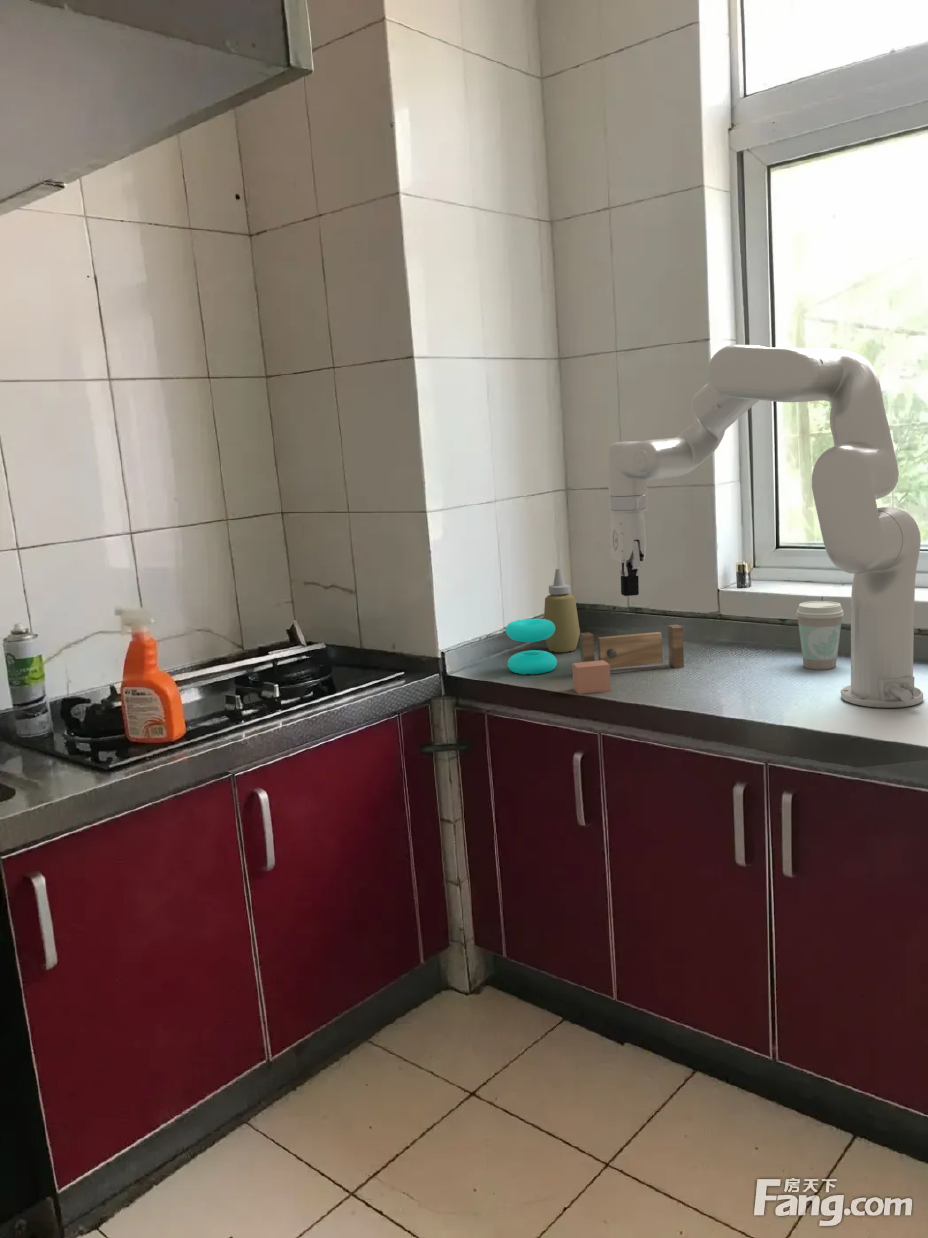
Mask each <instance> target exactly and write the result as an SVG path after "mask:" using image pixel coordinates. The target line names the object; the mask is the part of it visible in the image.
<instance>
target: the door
mask: <svg viewBox="0 0 928 1238" xmlns="http://www.w3.org/2000/svg"><path fill="white" fill-rule="evenodd" d="M662 634H663V633H662V632H660V631H656V632H654V631H653V632H644V633H643V632H642V633H635V634H633V633H632V634H630V633H629V634H623V635H622V634H620V635H619V634H618V635H610V636H609V635H608V636H599V637H598V636H597V655H598V661H601V660H604V661H605V662H607V663H608V664H609V665H610V669H618V668H628V667H639V666H646V665H647V666H649V665H660V664H663V635H662Z"/></svg>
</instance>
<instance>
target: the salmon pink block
mask: <svg viewBox="0 0 928 1238" xmlns="http://www.w3.org/2000/svg"><path fill="white" fill-rule="evenodd" d="M571 665H572V667H571V669H572V688H573V690H574V691H575V692H576V693H577V694H578V695H583V694H592V693H603V692H611V687H612V686H611V674H610V670H611V668H610V665H609V664H608V663H607V662H605V661H604V660H601V661H599V660H595V661H590V662H581V661H580V662H572V664H571Z"/></svg>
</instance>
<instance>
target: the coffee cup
mask: <svg viewBox="0 0 928 1238" xmlns="http://www.w3.org/2000/svg"><path fill="white" fill-rule="evenodd" d="M795 615H796V617H797V623H798V630H799V631H798V632H799V638H800V639H799V641H800V647H801V655H802V664H803V667H804V668H805V669H810V670H819V671H820V670H831V669H834V668H836V666H837V661H838V651H839V644H840V637H841V636H840V634H841V630H842V629H841V628H842V627H841V626H842V621H843V620H842V619H843V616H844V615H845V614H844V609H843V607H842V605H841V603H840V602H836V601H827V600H825V601H824V600H812V601H805V602H804V601H803V602H801V603H799V604H798V607H797V610H796V613H795Z"/></svg>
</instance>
